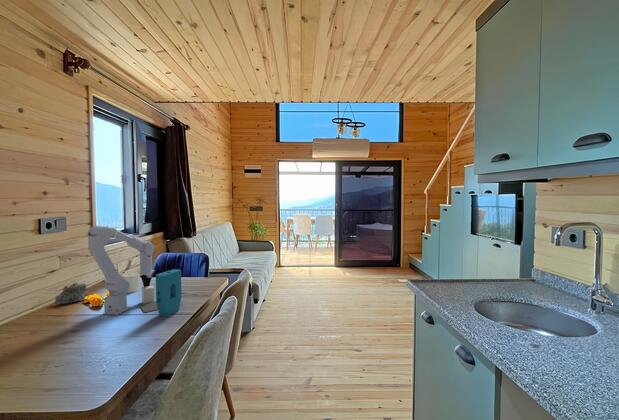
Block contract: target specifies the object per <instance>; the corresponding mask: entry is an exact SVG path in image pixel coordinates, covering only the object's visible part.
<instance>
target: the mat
mask: <svg viewBox="0 0 619 420" xmlns="http://www.w3.org/2000/svg"><path fill="white" fill-rule="evenodd" d="M138 306H139V308H140V310H141V311H142V312H143V314H146V313H150V312H151V313H152V312H155V311H158V308H157V304H156V300H154V301H153V302H148V303H143V302H142V303H139V304H138Z"/></svg>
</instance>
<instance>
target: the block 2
mask: <svg viewBox="0 0 619 420" xmlns="http://www.w3.org/2000/svg"><path fill="white" fill-rule="evenodd" d="M155 301H156V304H157V308H158V310H157V312H158V315H159V316H162V317H169V316H170V315H173V314H175V313H177V312H179V311H180V308H181V307H180V306H181V302H182V270H181V269H175V268H174V269H171V270H166V271H164V272H160V273H157V274H155Z"/></svg>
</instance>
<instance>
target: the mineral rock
mask: <svg viewBox="0 0 619 420" xmlns="http://www.w3.org/2000/svg"><path fill="white" fill-rule="evenodd" d="M86 296H88V293H87V285H86V283H77V282H76V283H73V284H71V285H70V286H68V287H67V288H66V289H64V290H62V292H60V293H59V294H58V295H56V296H55V297H54V298H55V300H54V304H56V305H59V304H61V305H62V304H63V305H64V304H70V303H71V304H72V303H75V302H80V301H86V299H84V298H85V297H86Z"/></svg>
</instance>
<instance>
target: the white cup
mask: <svg viewBox="0 0 619 420" xmlns="http://www.w3.org/2000/svg"><path fill="white" fill-rule="evenodd" d="M140 276H141V274H140V272H139V273H138V272H137V273H136V272H134V273H132V272H131V273H128V274H124V276H123V277H124V279H125V280H126V281H128V282H129V284H130V287H129V289H128V291H127V293H128V294H129V293H130V294H131V293H136V292H139V290H140Z"/></svg>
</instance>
